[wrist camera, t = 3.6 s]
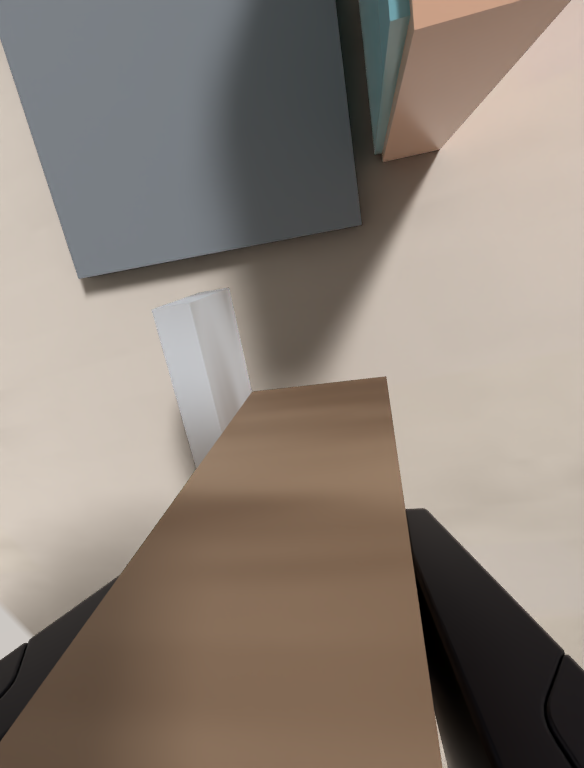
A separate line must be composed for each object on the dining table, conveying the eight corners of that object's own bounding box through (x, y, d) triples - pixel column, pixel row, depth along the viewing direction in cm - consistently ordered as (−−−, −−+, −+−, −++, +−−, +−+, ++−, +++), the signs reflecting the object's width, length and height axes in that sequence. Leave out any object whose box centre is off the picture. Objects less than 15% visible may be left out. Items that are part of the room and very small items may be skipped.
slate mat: (361, 224, 12) (361, 224, 11) (90, 276, 14) (78, 278, 13) (287, -405, 8) (282, -451, 8) (-67, -219, 10) (-92, -245, 10)
